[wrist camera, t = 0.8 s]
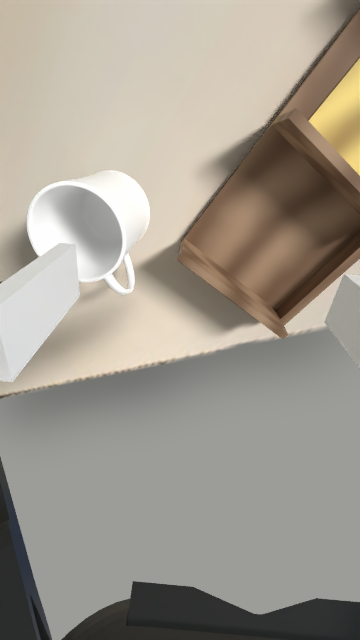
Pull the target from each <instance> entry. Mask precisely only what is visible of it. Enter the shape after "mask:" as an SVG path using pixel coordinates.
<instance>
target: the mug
mask: <svg viewBox="0 0 360 640" xmlns="http://www.w3.org/2000/svg"><path fill="white" fill-rule="evenodd" d="M149 220H150V208H149V203H148V200H147V197H146V195H145V193H144V191H143V190H142V188H141V187H140V186H139V185H138V183H137V182H136V181H134V180H133V179H132V178H131V177H129V176H128V175H126V174H124V173H121V172H118V171H113V170H105V171H100V172H97V173H94V174H92V175H91V176H86V177H81V178H76V179H70V180H65V181H60V182H56V183H53V184H50V185H48V186H46V187H45V188H43V189H42V190H40V191H39V192H38V193H37V194H36V196H35V197H34V198H33V200H32V202H31V204H30V206H29V209H28V213H27V232H28V236H29V239H30V242H31V245H32V247H33V249H34V251H35V252H36V254H37V255H38V257H40V256H41V255H43V254H44V253H46V252H47V251H48V250H50V249H51V248H53V247H54V246H56V245H57V244H59V243H67V244H76V254H77V266H78V278H79V282H94V281H98V280H101V279H104V280H105V282H106V283H107V284H108V285H109V286H110V288H111V289H112V290H114V291H115V292H116V293H118V294H120V295H127V294H129V293H131V292H132V290H133V288H134V284H135V277H134V270H133V266H132V262H131V259H130V256H129V253H128V252H129V251H130V249H131V248H132V247H133V245H134V244H135V243H136V242H137V241H139V240H140V239H141V238H142V236H143V235H144V234H145V232H146V230H147V227H148V224H149ZM122 261H124V264H125V267H126V271H127V277H128V285H127V289H125V288H123V287H122V286H121V285H120V284H119V283H118V282H117V281H116V279H115V278H114V276H113V274H112V273H113V272H114V271H115V270H116V269H117V267H118V266H119V265H120V263H121V262H122Z"/></svg>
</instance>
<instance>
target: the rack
mask: <svg viewBox="0 0 360 640" xmlns="http://www.w3.org/2000/svg"><path fill="white" fill-rule="evenodd" d="M359 259H360V8H359V9H358V11H357V12H356V13H355V15H354V16H353V17H352V19H351V20H350V21H349V23H348V24H347V25H346V26H345V28H344V29H343V30H342V32H341V33H340V34H339V36H338V37H337V38H336V40H335V41H334V42H333V43H332V45H331V46H330V47H329V49H328V50H327V51H326V53H325V54H324V55H323V57H322V58H321V59H320V60H319V62H318V63H317V64H316V66H315V67H314V68H313V70H312V71H311V72H310V74H309V75H308V76H307V77H306V79H305V80H304V81H303V83H302V84H301V85H300V87H299V88H298V89H297V91H296V92H295V93H294V94H293V96H292V97H291V98H290V100H289V101H288V102H287V104H286V105H285V106H284V108H283V109H282V110H281V111H280V113H279V114H278V115H277V117H276V118H275V119H274V121H273V122H272V123H271V125H270V126H269V127H268V128H267V130H266V131H265V132H264V134H263V135H262V136H261V138H260V139H259V140H258V142H257V143H256V144H255V145H254V147H253V148H252V149H251V151H250V152H249V153H248V155H247V156H246V157H245V159H244V160H243V161H242V162H241V164H240V165H239V166H238V168H237V169H236V170H235V172H234V173H233V174H232V176H231V177H230V178H229V179H228V181H227V182H226V183H225V185H224V186H223V187H222V189H221V190H220V191H219V193H218V194H217V195H216V196H215V198H214V199H213V200H212V202H211V203H210V204H209V206H208V207H207V208H206V210H205V211H204V212H203V213H202V215H201V216H200V217H199V219H198V220H197V221H196V223H195V224H194V225H193V227H192V228H191V229H190V230H189V232H188V233H187V234H186V236H185V237H184V238H183V240H182V241H181V244H180V249H179V254H178V259H177V260H178V261H180V262H181V263H182V264H184V265H185V266H186V267H188V268H189V269H190V270H192V271H193V272H194V273H196V274H197V275H198V276H200V277H201V278H202V279H204V280H205V281H206V282H208V283H209V284H210V285H212V286H213V287H214V288H216V289H217V290H218V291H220V292H221V293H222V294H224V295H225V296H226V297H228V298H229V299H230V300H231V301H233V302H234V303H235V304H237V305H238V306H239V307H241V308H242V309H243V310H245V311H246V312H247V313H249V314H250V315H251V316H253V317H254V318H255V319H257V320H258V321H259V322H261V323H262V324H263V325H265V326H266V327H267V328H269V329H270V330H271V331H273V332H274V333H275V334H277V335H278V336H279V337H281V338H282V339H284V338H285V337H286V336H287V335H288V333H287V331H286V329H285V327H284V325H285V324H286V323H288V322H289V321H290V320H291V319H292V318H293V317H294V316H295V315H297V314H298V313H299V312H300V311H301V310H302V309H303V308H304V307H306V306H307V305H308V304H309V303H310V302H311V301H312V300H313V299H315V298H316V297H317V296H318V295H319V294H320V293H321V292H322V291H324V290H325V289H326V288H327V287H328V286H329V285H330V284H332V283H333V282H334V281H335V280H336V279H337V278H338V277H339V276H341V275H342V274H343V273H344V272H345V271H346V270H347V269H348V268H350V267H351V266H352V265H353V264H354V263H355V262H356V261H357V260H359Z"/></svg>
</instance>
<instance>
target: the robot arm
mask: <svg viewBox="0 0 360 640" xmlns="http://www.w3.org/2000/svg"><path fill="white" fill-rule="evenodd" d="M79 296H80V290H79V278H78V266H77V254H76V244H67V243H59V244H57V245H56V246H54V247H53V248H51V249H50V250H48V251H47V252H46V253H44V254H43V255H41V256H40V257H38V258H37V259H35V260H34V261H32V262H31V263H30V264H28V265H27V266H25V267H24V268H22V269H21V270H19V271H18V272H17V273H15V274H14V275H12V276H11V277H9V278H8V279H6V280H5V281H4V282H0V381H6V382H13V381H14V380H15V378H16V377H17V376H18V375H19V373H20V372H21V371H22V369H23V368H24V367H25V366H26V364H27V363H28V362H29V361H30V359H31V358H32V357H33V355H34V354H35V353H36V352H37V350H38V349H39V348H40V346H41V345H42V344H43V343H44V341H45V340H46V339H47V337H48V336H49V335H50V334H51V332H52V331H53V330H54V328H55V327H56V326H57V325H58V323H59V322H60V321H61V320H62V318H63V317H64V316H65V314H66V313H67V312H68V311H69V309H70V308H71V307H72V305H73V304H74V303H75V302H76V300H77V299H78V298H79ZM325 324H326V325H327V326H328V327H329V329H330V330H331V331H332V333H333V334H334V335H335V337H336V338H337V339H338V340H339V342H340V343H341V344H342V346H343V347H344V348H345V350H346V351H347V352H348V354H349V355H350V356H351V358H352V359H353V360H354V362H355V363H356V364H357V366H358V367H359V368H360V276H358V275H349V274H344V276H343V278H342V280H341V283H340V285H339V288H338V290H337V293H336V295H335V297H334V300H333V302H332V305H331V307H330V310H329V312H328V314H327V317H326V319H325ZM0 640H52V638H51V634H50V630H49V627H48V623H47V620H46V617H45V613H44V610H43V607H42V604H41V601H40V597H39V594H38V591H37V587H36V584H35V580H34V577H33V573H32V570H31V566H30V563H29V559H28V555H27V552H26V548H25V544H24V541H23V537H22V534H21V530H20V526H19V523H18V519H17V515H16V512H15V508H14V505H13V501H12V498H11V494H10V490H9V487H8V483H7V480H6V476H5V472H4V469H3V465H2V461H1V458H0ZM62 640H360V602H350V601H339V600H328V599H318V598H316V599H313V600H310V601H306V602H303V603H299V604H296V605H293V606H289V607H286V608H283V609H279V610H276V611H273V612H269V613H266V614H262V615H258V614H253V613H251V612H248V611H246V610H243V609H241V608H239V607H237V606H234V605H232V604H230V603H228V602H226V601H223V600H221V599H219V598H216V597H214V596H212V595H210V594H208V593H205V592H203V591H201V590H199V589H196V588H194V587H188V586H187V587H186V586H177V585H166V584H156V583H145V582H134V581H133V585H132V591H131V598H130V599H127V600H123V601H120V602H116V603H114V604H112V605H109V606H107V607H105V608H103V609H101V610H99V611H97V612H96V613H94V614H93V615H91V616H89V617H88V618H86V619H85V620H84V621H82V622H81V623H80V624H79V625H77V626H76V627H75V628H74V629H72V630H71V631H70V632H69V633H68V634H67V635H66V636H65V637H64V638H63V639H62Z"/></svg>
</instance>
